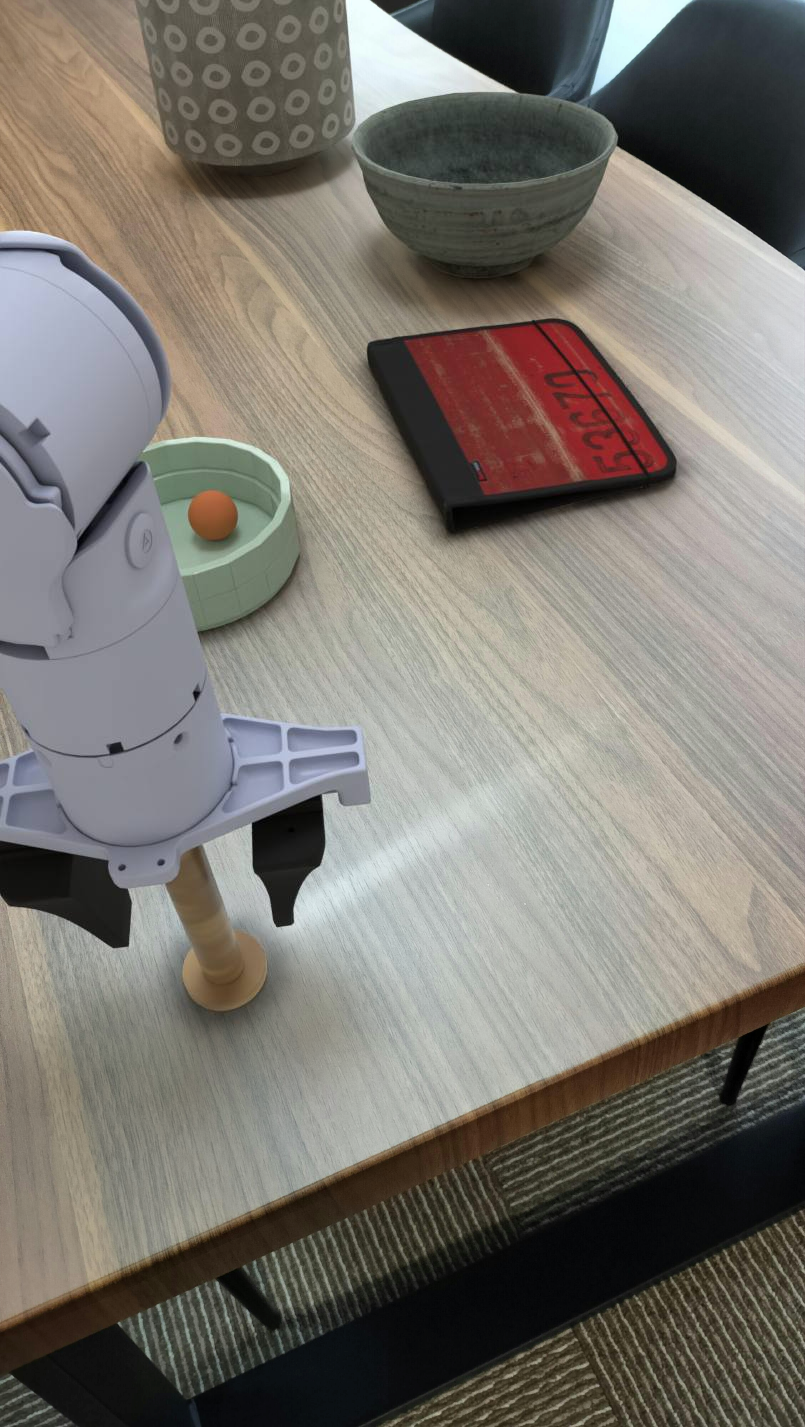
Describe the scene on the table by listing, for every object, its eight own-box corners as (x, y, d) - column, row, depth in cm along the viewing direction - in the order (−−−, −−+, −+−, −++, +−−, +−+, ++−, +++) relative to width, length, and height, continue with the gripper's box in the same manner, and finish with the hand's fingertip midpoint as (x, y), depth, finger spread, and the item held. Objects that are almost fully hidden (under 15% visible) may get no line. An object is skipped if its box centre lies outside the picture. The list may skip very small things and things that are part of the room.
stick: (183, 1016, 43) (113, 876, 35) (186, 940, 46) (121, 793, 38) (268, 1005, 44) (218, 864, 35) (266, 930, 46) (219, 781, 38)
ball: (193, 553, 63) (182, 513, 60) (194, 522, 65) (183, 483, 62) (242, 547, 63) (233, 507, 60) (241, 517, 65) (232, 477, 62)
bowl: (318, 293, 85) (303, 165, 77) (422, 191, 97) (417, 71, 89) (558, 335, 78) (566, 199, 71) (637, 220, 90) (651, 94, 83)
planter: (397, 150, 104) (384, -72, 90) (255, 216, 95) (218, -17, 82) (272, 111, 113) (244, -95, 99) (133, 168, 104) (81, -48, 91)
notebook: (446, 505, 61) (364, 338, 75) (446, 536, 63) (365, 367, 77) (693, 461, 64) (570, 307, 78) (686, 492, 66) (566, 336, 79)
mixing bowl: (75, 650, 58) (50, 591, 55) (94, 508, 67) (74, 450, 64) (305, 622, 59) (295, 562, 56) (295, 485, 68) (285, 425, 64)
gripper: (-167, 822, 28) (6, 1034, 38) (363, 756, 28) (394, 982, 39) (-111, 641, 32) (30, 873, 43) (344, 587, 33) (376, 829, 43)
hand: (203, 915), depth 41 cm, fingers open, 6 cm apart
